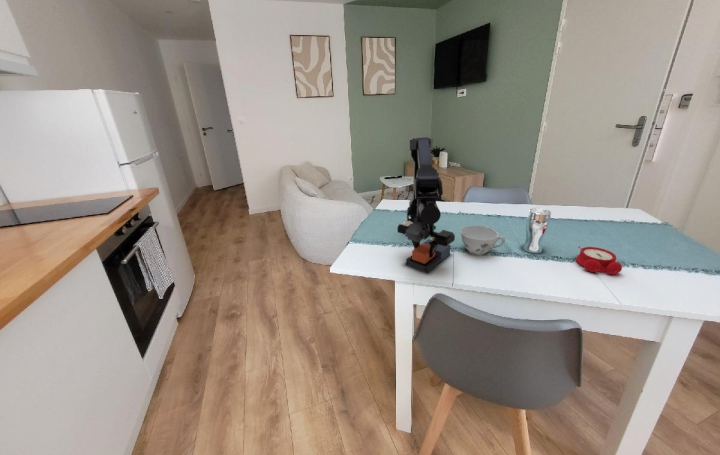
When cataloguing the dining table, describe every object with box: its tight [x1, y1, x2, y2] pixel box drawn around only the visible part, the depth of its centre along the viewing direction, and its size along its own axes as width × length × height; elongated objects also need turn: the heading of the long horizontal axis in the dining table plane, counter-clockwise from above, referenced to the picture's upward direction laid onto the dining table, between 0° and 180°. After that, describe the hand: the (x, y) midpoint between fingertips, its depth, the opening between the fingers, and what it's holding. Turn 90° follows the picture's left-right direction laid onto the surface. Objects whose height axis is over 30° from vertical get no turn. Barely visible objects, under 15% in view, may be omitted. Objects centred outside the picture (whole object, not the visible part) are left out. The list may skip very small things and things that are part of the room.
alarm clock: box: [575, 246, 623, 275], centre depth 93 cm, size 10×6×15 cm
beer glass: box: [522, 207, 552, 254], centre depth 104 cm, size 7×7×15 cm
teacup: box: [460, 224, 506, 256], centre depth 105 cm, size 15×12×8 cm
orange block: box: [411, 242, 435, 264], centre depth 99 cm, size 7×5×4 cm
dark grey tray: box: [404, 238, 452, 274], centre depth 102 cm, size 16×9×4 cm, turn 138°
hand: (423, 255), depth 100 cm, fingers closed on orange block, 5 cm apart
